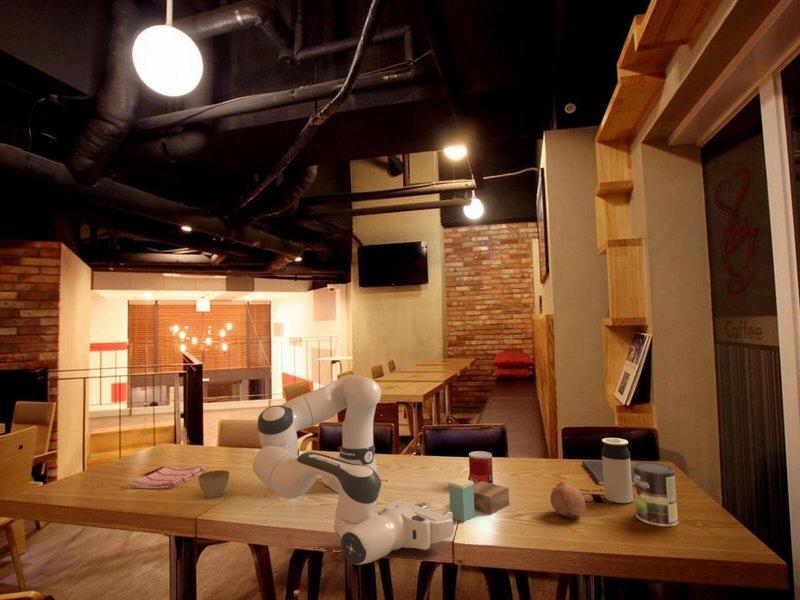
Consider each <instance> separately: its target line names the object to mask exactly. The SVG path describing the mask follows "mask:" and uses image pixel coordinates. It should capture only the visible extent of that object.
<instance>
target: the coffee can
mask: <svg viewBox="0 0 800 600" xmlns="http://www.w3.org/2000/svg"><path fill="white" fill-rule="evenodd" d="M632 468H633V469H634V484H635V486H634V496H635V497H634V498H635V516H636V518H637V519H638V520H640V521H641V522H643V523H645V524H648V525H651V526H656V527H661V528H662V527H664V528H665V527H666V528H667V527H668V528H669V527H675V526H677V525H678V524H679V520H678V508H677V507H678V505H677V492H676V491H677V490H676V489H677V488H676V476H675V473H676V470H675V468H674V467H672V466H670V465H667V464H663V463H658V462H652V461H651V462H650V461H649V462H647V461H640V462H635V463H633V464H632Z"/></svg>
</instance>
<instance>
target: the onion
mask: <svg viewBox="0 0 800 600" xmlns="http://www.w3.org/2000/svg"><path fill="white" fill-rule="evenodd" d="M549 497H550V503H551V506H552V508H553V509H554V511H555V512H557V514H559V515H561V516H562V517H564V518H566V519H572V520H575V518H577V517H579V516H581V514H582V513H583V512H584V511H585V510H586V497H585V496H584V494H583V492H582V491H581V490H580V489H578V488H577V487H576V486H574V485H571V484H567V483H566V482H564V481H561V482H560V483H557V484H556V486H555V487H554V488H553V489H552V491H551V493H550V496H549Z"/></svg>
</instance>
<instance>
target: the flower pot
mask: <svg viewBox="0 0 800 600" xmlns="http://www.w3.org/2000/svg"><path fill="white" fill-rule="evenodd" d="M197 478H198V482H199V483H198V484H199V486H200V490H201V492H202V493H203V495H204V496H205V498H207V499H214V498H218V497H220V496H222V495H223V493H224V492H225V490H226V487H227V486H228V485H227V484H228V482H229V479H230V471H229V470H224V469H222V470H221V469H220V470H210V471H206V472H202V473H201V474H199V475H197Z"/></svg>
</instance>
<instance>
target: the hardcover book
mask: <svg viewBox="0 0 800 600" xmlns="http://www.w3.org/2000/svg"><path fill="white" fill-rule="evenodd" d="M581 464H582V466H583V465H584V466H583V468H584V469H585V468H586V469H587V470H586V469H585V470H586V471H587V472H589V473H588V474H589V475H590V477H592V479H593V481H595V483H596V484H597V485H598V486H600V485H601V486H604V479H603V463H602V460H583V461H582V463H581ZM631 479H632V487H633V486H634V487H635V484H634V469H633V466H631Z"/></svg>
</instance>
